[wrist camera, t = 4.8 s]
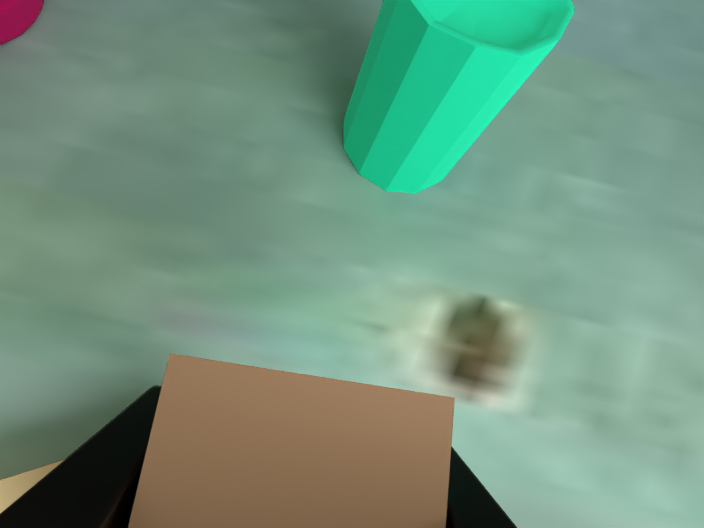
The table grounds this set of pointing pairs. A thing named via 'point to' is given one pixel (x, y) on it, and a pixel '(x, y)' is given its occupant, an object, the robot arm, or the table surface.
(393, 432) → the terracotta block
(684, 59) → the table surface
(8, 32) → the pepper mill
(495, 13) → the candle
